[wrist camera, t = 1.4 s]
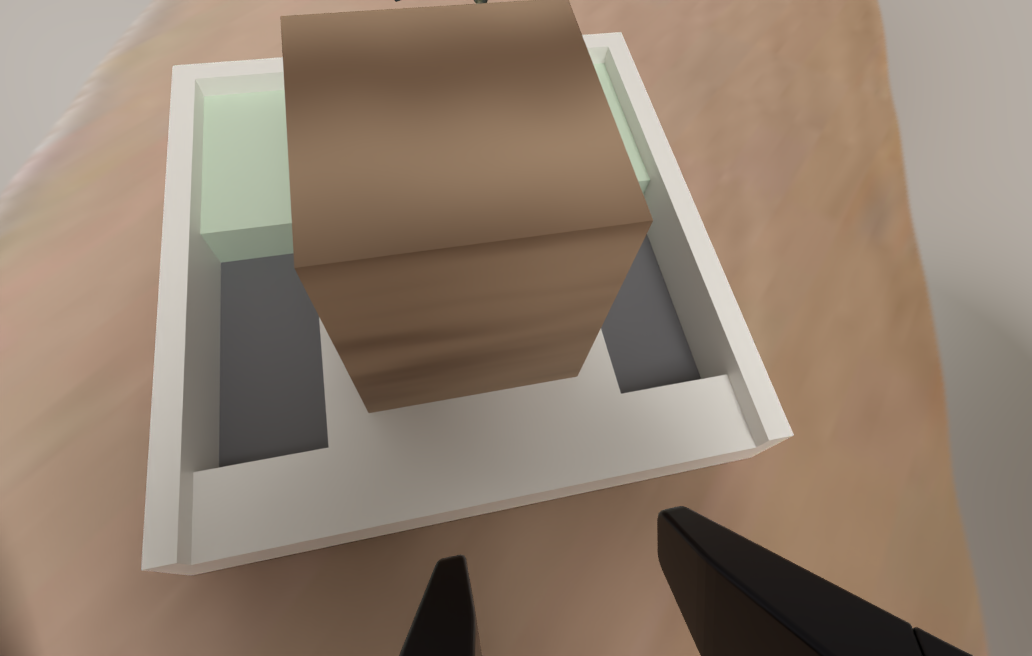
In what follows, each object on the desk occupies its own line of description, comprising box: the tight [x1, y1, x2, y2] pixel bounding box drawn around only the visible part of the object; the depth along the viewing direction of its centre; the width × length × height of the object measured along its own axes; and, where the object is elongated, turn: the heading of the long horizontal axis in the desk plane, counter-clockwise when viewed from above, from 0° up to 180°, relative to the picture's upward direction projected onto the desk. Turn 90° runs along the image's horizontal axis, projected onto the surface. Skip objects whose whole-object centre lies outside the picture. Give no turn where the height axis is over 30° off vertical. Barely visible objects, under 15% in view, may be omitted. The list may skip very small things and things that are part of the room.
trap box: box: [141, 32, 793, 576], centre depth 25 cm, size 22×22×4 cm
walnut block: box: [281, 0, 653, 413], centre depth 19 cm, size 8×8×10 cm
